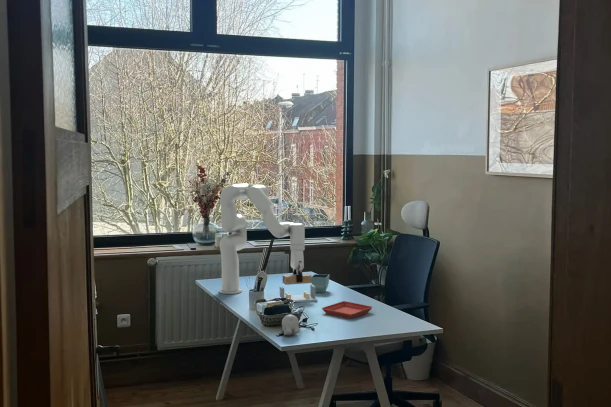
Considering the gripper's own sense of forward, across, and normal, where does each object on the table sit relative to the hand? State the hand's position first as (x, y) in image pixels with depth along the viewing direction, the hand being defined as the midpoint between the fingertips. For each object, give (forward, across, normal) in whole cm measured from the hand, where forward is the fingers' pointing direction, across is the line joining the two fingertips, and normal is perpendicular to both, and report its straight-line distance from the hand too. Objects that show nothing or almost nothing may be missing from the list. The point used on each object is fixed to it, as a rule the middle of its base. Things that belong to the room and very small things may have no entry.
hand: (297, 280), depth 335 cm
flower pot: (+10, -15, +17) cm, 25 cm away
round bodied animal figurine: (+11, +59, -20) cm, 63 cm away
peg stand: (+10, 0, 0) cm, 10 cm away
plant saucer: (+11, +33, +16) cm, 38 cm away
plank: (+1, 0, 0) cm, 1 cm away
